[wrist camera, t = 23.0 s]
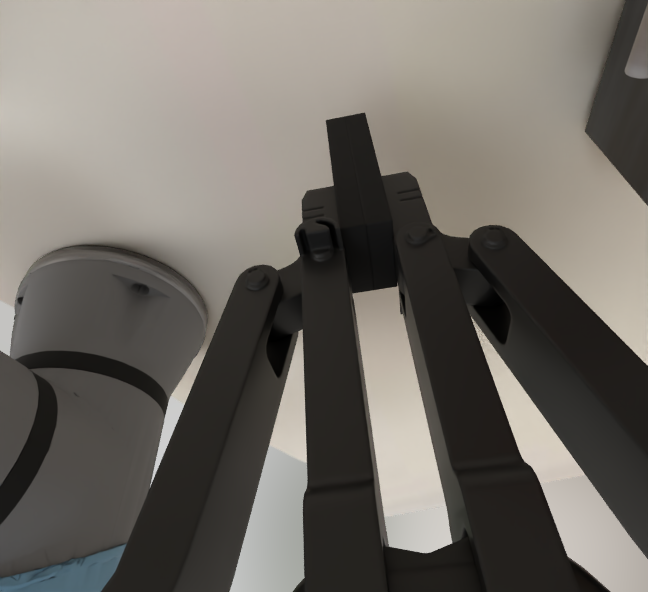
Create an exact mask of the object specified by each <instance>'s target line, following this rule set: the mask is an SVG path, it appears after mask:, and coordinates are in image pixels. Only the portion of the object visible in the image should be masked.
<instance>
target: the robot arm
mask: <svg viewBox="0 0 648 592" xmlns="http://www.w3.org/2000/svg"><path fill="white" fill-rule="evenodd" d="M326 125H327V133H328V141H329V149H330V157H331V165H332V173H333V181H334V186H331V187H326V188H320V189H315V190H309V191H307V192H306V194H305V196H304V198H303V199H302V218H303V223H302V224H300V225H299V227H298V228H297V229H296V231H295V235H294V236H295V239H296V243H297V246H298V250H299V253H300V257H299V258H298V259H297V260H296V261H295V262H294V263H292V264H291V265H289V266H287V267H285V268H283V269H280V270H278V271H277V270H276V269H275V268H273V267H272V266H268V265H257V266H253V267H251V268H249V269H247V270H245V271H244V272H243V273H241V274H240V276H239V277H238V279H237V280H236V283H235V285H234V287H233V290H232V292H231V295H230V297H229V299H228V302H227V304H226V307H225V309H224V311H223V314H222V316H221V319H220V321H219V323H218V326H217V328H216V331H215V333H214V335H213V338H212V340H211V343H210V345H209V347H208V350H207V352H206V355H205V357H204V359H203V362H202V364H201V367H200V369H199V371H198V374H197V376H196V379H195V381H194V383H193V386H192V388H191V391H190V393H189V396H188V398H187V400H186V403H185V405H184V408H183V410H182V412H181V415H180V417H179V420H178V422H177V424H176V427H175V429H174V432H173V434H172V436H171V439H170V441H169V444H168V446H167V448H166V451H165V453H164V456H163V458H162V460H161V463H160V465H159V468H158V470H157V472H156V475H155V477H154V480H153V482H152V484H151V479H152V474H153V470H154V465H155V461H156V456H157V451H158V447H159V442H160V438H161V433H162V428H163V424H164V418H165V414H166V410H167V406H168V401H169V398H170V396H171V394H172V393H173V391H174V390H175V388H176V387H177V385H178V383H179V382H180V380H181V379H182V377H183V376H184V374H185V372H186V371H187V369H188V367H189V366H190V364H191V362H192V360H193V359H194V358H195V356H196V355H197V354H198V352H199V350H200V348H201V346H202V344H203V341H204V338H205V333H206V328H207V323H208V315H207V310H206V307H205V304H204V302H203V300H202V298H201V297H200V295H199V294H198V292H197V291H196V290H195V289H194V287H193V286H192V285H191V284H190V283H189V282H188V281H186V280H185V279H184V278H183V277H182V276H180V275H179V274H178V273H176V272H175V271H173V270H172V269H170V268H168V267H167V266H165V265H163V264H161V263H159V262H157V261H155V260H153V259H150V258H148V257H145V256H143V255H140V254H136V253H133V252H130V251H126V250H122V249H116V248H110V247H103V246H77V247H69V248H64V249H60V250H56V251H54V252H51V253H49V254H47V255H45V256H43V257H41V258H40V259H39V260H37V261H36V262H35V263H34V264H33V265H32V266H31V267H30V269H29V270H28V272H27V274H26V275H25V277H24V279H23V280H22V282H21V284H20V286H19V288H18V292H17V295H16V300H15V314H16V315H15V317H14V320H15V321H14V326H13V331H12V339H11V349H10V357H9V356H8V355H6V354H5V353H3V352H1V351H0V592H229V591H230V587H231V585H232V581H233V578H234V575H235V571H236V567H237V563H238V559H239V556H240V552H241V548H242V544H243V540H244V537H245V533H246V529H247V526H248V522H249V518H250V514H251V511H252V506H253V503H254V499H255V496H256V492H257V488H258V484H259V480H260V477H261V473H262V469H263V465H264V461H265V458H266V454H267V450H268V447H269V443H270V439H271V435H272V432H273V428H274V424H275V420H276V417H277V413H278V409H279V405H280V402H281V398H282V394H283V390H284V387H285V383H286V379H287V375H288V372H289V368H290V364H291V360H292V356H293V353H294V349H295V345H296V341H297V338H298V331H300V330H302V329H303V351H304V382H305V413H306V443H307V474H308V484H307V489H306V491H305V494H304V500H303V532H304V533H303V534H304V575H305V578H304V579H303V580H302V581H301V582H300V583H299V584H298V585H297V587H296V588H295V590H294V591H293V592H610V591H609V590H608V589H607V588H606V587H604V586H603V585H602V584H601V583H600V582H599V581H598V580H597V579H596V578H595V577H593V576H592V575H591V574H590V573H589V572H588V571H586V570H585V569H584V568H583V567H581V566H580V565H579V564H577V563H576V562H575V561H573V560H572V559H570V558H569V557H567V554H566V551H565V549H564V546H563V543H562V541H561V538H560V536H559V533H558V530H557V527H556V524H555V522H554V519H553V516H552V514H551V511H550V508H549V506H548V503H547V500H546V498H545V495H544V493H543V490H542V487H541V485H540V482H539V480H538V478H537V475H536V473H535V472H534V470H533V469H532V467H531V466H530V465H528V464H527V463H525V462H524V460H523V459H522V457H521V455H520V452H519V450H518V447H517V444H516V441H515V438H514V436H513V433H512V430H511V427H510V425H509V422H508V419H507V416H506V413H505V411H504V408H503V405H502V402H501V400H500V397H499V394H498V391H497V388H496V386H495V383H494V380H493V377H492V375H491V372H490V369H489V366H488V363H487V361H486V358H485V355H484V352H483V350H482V347H481V344H480V341H479V338H478V336H477V333H476V330H475V327H474V325H473V322H472V319H471V316H472V318H473V319H474V320H475V322H476V323H477V325H478V326H479V327H480V329H481V330H482V332H483V333H484V334H485V336H486V337H487V339H488V340H489V341H490V343H491V344H492V345H493V347H494V348H495V350H496V351H497V352H498V354H499V355H500V357H501V358H502V359H503V361H504V362H505V364H506V365H507V366H508V368H509V369H510V370H511V372H512V373H513V375H514V376H515V377H516V379H517V380H518V382H519V383H520V384H521V386H522V387H523V389H524V390H525V391H526V393H527V394H528V395H529V397H530V398H531V400H532V401H533V402H534V404H535V405H536V407H537V408H538V409H539V411H540V412H541V413H542V415H543V416H544V418H545V419H546V420H547V422H548V423H549V425H550V426H551V427H552V429H553V430H554V432H555V433H556V434H557V436H558V437H559V438H560V440H561V441H562V443H563V444H564V445H565V447H566V448H567V450H568V451H569V452H570V454H571V455H572V457H573V458H574V459H575V461H576V462H577V463H578V465H579V466H580V468H581V469H582V470H583V472H584V473H585V475H586V476H587V477H588V479H589V480H590V481H591V483H592V484H593V486H594V487H595V488H596V490H597V491H598V493H599V494H600V495H601V497H602V498H603V500H604V501H605V502H606V504H607V505H608V506H609V508H610V509H611V511H612V512H613V513H614V514H615V516H616V518H617V519H618V520H619V522H620V523H621V524H622V526H623V527H624V528H625V530H626V531H627V533H628V534H629V535H630V537H631V538H632V540H633V541H634V542H635V543H636V545H637V546H638V547H639V548H640V550H641V551H642V552H643V554H644V555H645V556H646V557H647V559H648V366H647V365H646V364H645V363H644V362H643V361H642V360H641V359H640V358H639V357H638V356H637V355H636V354H635V353H634V352H633V351H632V350H631V349H630V348H629V347H628V346H627V345H626V344H625V343H624V342H623V341H622V340H621V339H620V338H619V337H618V336H617V335H616V334H615V333H614V332H613V331H612V330H611V329H610V328H609V327H608V325H607V324H606V323H605V322H604V321H603V320H602V319H601V318H600V317H599V316H598V315H597V314H596V313H595V312H594V311H593V310H592V309H591V308H590V307H589V306H588V305H587V304H586V303H585V302H584V301H583V300H582V299H581V298H580V297H579V296H578V295H577V294H576V293H575V292H574V291H573V290H572V289H571V288H570V287H569V286H568V285H567V284H566V283H565V282H564V281H563V280H562V279H561V278H560V277H559V276H558V275H557V274H556V273H555V272H554V271H553V270H552V269H551V268H550V267H549V266H548V265H547V264H546V263H545V262H544V261H543V260H542V259H541V258H540V257H539V256H538V255H537V254H536V253H535V252H534V251H533V250H532V249H531V248H530V247H529V246H528V245H527V244H526V243H525V242H524V241H523V240H522V239H521V238H520V237H519V236H518V235H517V234H516V233H515V232H513V231H512V230H510V229H509V228H506V227H503V226H498V225H488V226H483V227H480V228H478V229H476V230H474V231H473V233H472V234H471V235H470V238H460V237H451V236H448V235H444V234H442V233H441V232H440V231H439V230H438V228H437V227H435V226H434V225H433V224H432V222H431V219H430V216H429V213H428V210H427V208H426V205H425V202H424V199H423V197H422V193H421V191H420V188H419V185H418V182H417V179H416V178H415V177H413V176H412V175H411V174H410V173H409V172H402V173H397V174H391V175H386V176H381V173H380V169H379V166H378V162H377V158H376V154H375V150H374V146H373V142H372V138H371V135H370V131H369V127H368V123H367V119H366V115H365V113H360V114H355V115H350V116H345V117H340V118H335V119H330V120H326ZM397 282H398V287H399V298H400V312H401V314H403V316H404V321H405V325H406V330H407V334H408V338H409V343H410V347H411V352H412V356H413V360H414V365H415V369H416V374H417V378H418V383H419V387H420V391H421V396H422V400H423V405H424V409H425V413H426V418H427V422H428V427H429V431H430V436H431V440H432V444H433V449H434V453H435V458H436V462H437V466H438V471H439V475H440V480H441V484H442V489H443V493H444V497H445V502H446V506H447V511H448V518H449V526H450V532H451V538H452V544H450V545H447V546H445V547H443V548H441V549H438V550H436V551H433V552H431V553H419V552H414V551H408V550H403V549H398V548H392V547H389V544H388V538H387V532H386V526H385V520H384V513H383V506H382V499H381V492H380V485H379V477H378V470H377V463H376V456H375V449H374V442H373V434H372V427H371V420H370V413H369V406H368V398H367V391H366V384H365V377H364V370H363V363H362V355H361V348H360V341H359V334H358V327H357V320H356V312H355V305H354V300H353V295H352V293H358V292H364V291H371V290H377V289H383V288H390V287H396V286H397ZM470 315H471V316H470ZM150 484H151V487H150Z"/></svg>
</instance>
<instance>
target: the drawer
mask: <svg viewBox="0 0 648 592" xmlns="http://www.w3.org/2000/svg"><path fill="white" fill-rule="evenodd" d="M585 132H586V133H587V134H588V136H589V137H590V138H591V139H592V140H593V142H594V143H595V144H596V145H597V146H598V148H599V149H600V150H601V151H602V152H603V153H604V155H605V156H606V157H607V158H608V159H609V161H610V162H611V163H612V164H613V165H614V167H615V168H616V169H617V170H618V171H619V172H620V174H621V175H622V176H623V177H624V178H625V180H626V181H627V182H628V183H629V184H630V185H631V187H632V188H633V189H634V190H635V191H636V193H637V194H638V195H639V196H640V197H641V199H642V200H643V201H644V202H645V203H646V204H647V206H648V0H626V1H625V4H624V7H623V10H622V13H621V17H620V20H619V23H618V26H617V29H616V33H615V36H614V39H613V42H612V45H611V49H610V52H609V55H608V58H607V61H606V65H605V68H604V71H603V74H602V77H601V81H600V84H599V87H598V90H597V93H596V97H595V100H594V103H593V106H592V109H591V113H590V116H589V119H588V122H587V125H586V129H585Z"/></svg>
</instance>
